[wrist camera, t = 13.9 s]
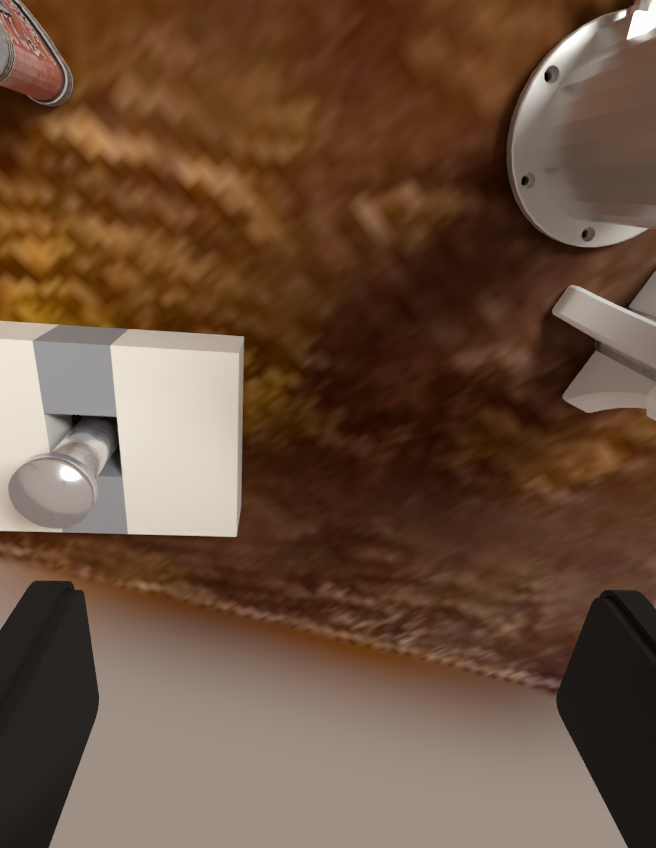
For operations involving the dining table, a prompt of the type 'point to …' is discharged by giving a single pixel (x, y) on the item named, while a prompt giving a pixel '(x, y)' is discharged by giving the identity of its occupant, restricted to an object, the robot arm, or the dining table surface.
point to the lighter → (31, 57)
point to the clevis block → (130, 422)
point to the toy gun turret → (614, 350)
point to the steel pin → (65, 475)
